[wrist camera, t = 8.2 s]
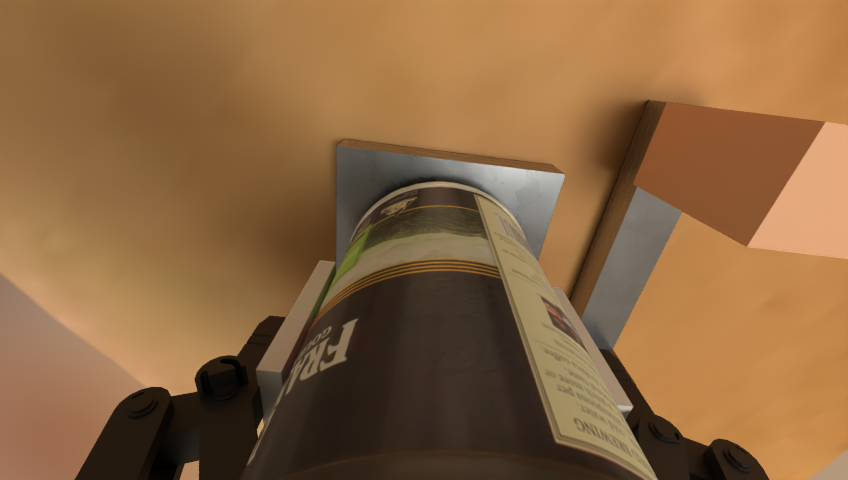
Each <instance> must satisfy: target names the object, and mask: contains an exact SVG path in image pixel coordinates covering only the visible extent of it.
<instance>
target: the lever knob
mask: <svg viewBox="0 0 848 480" xmlns="http://www.w3.org/2000/svg"><path fill="white" fill-rule="evenodd" d="M633 185H635V186H637V187H639V188H641V189H642V190H644V191H646V192H648V193H650V194H651V195H653V196H655V197H657V198H659V199H661V200H662V201H664V202H666V203H668V204H670V205H671V206H673V207H675V208H677V209H679V210H681V211H682V212H684V213H686V214H688V215H690V216H691V217H693V218H695V219H697V220H699V221H701V222H702V223H704V224H706V225H708V226H710V227H711V228H713V229H715V230H717V231H719V232H721V233H722V234H724V235H726V236H728V237H730V238H732V239H733V240H735V241H737V242H739V243H741V244H742V245H744V246H746V247H752V248H760V249H769V250H777V251H786V252H794V253H802V254H811V255H819V256H828V257H836V258H844V259H848V125H844V124H837V123H830V122H822V121H814V120H806V119H798V118H790V117H782V116H774V115H766V114H758V113H750V112H742V111H734V110H726V109H718V108H710V107H702V106H694V105H686V104H678V103H670V102H667V103H666V106H665V108H664V111H663V113H662V115H661V118H660V120H659V123H658V125H657V127H656V130H655V132H654V134H653V137H652V139H651V142H650V144H649V146H648V149H647V151H646V154H645V156H644V158H643V161H642V163H641V166H640V168H639V170H638V173H637V175H636V178H635V180H634V182H633Z"/></svg>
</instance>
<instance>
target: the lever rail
mask: <svg viewBox="0 0 848 480" xmlns="http://www.w3.org/2000/svg"><path fill="white" fill-rule="evenodd" d="M666 103H667V102H661V101H653V100H648V102H647V105H646V108H645V110H644V113H643V115H642V118H641V120H640V123H639V125H638V128H637V130H636V133H635V136H634V138H633V141H632V143H631V146H630V148H629V151H628V153H627V156H626V158H625V161H624V163H623V166H622V169H621V171H620V174H619V176H618V179H617V181H616V184H615V186H614V189H613V191H612V194H611V197H610V199H609V202H608V204H607V207H606V209H605V212H604V214H603V217H602V219H601V222H600V225H599V227H598V230H597V232H596V235H595V237H594V240H593V242H592V245H591V247H590V250H589V253H588V255H587V258H586V260H585V263H584V265H583V268H582V270H581V273H580V275H579V278H578V281H577V283H576V286H575V288H574V291H573V293H572V296H571V298H570V301H569V302H570V303H571V305H572V306H573V308H574V310H575V311H576V313H577V315H578V316H579V318H580V320H581V321H582V323H583V325H584V326H585V328H586V329H587V331H588V333H589V334H590V336H591V338H592V339H593V341H594V343H595V344H596V346H597V348H598V349H603V350H608V351H610V352H611V353H612V354H613V355H614V356H615V357H616V358H617V359H618V360H619V358H618V357H617V355H616V354H615V352H614V351H613V347H614V346H615V344H616V342H617V340H618V338H619V336H620V334H621V332H622V330H623V328H624V326H625V324H626V322H627V320H628V318H629V316H630V314H631V312H632V310H633V308H634V306H635V304H636V302H637V300H638V298H639V296H640V294H641V292H642V290H643V288H644V286H645V284H646V282H647V280H648V278H649V276H650V274H651V272H652V270H653V268H654V266H655V265H656V263H657V261H658V259H659V257H660V255H661V253H662V251H663V249H664V247H665V245H666V243H667V241H668V239H669V237H670V235H671V233H672V231H673V229H674V227H675V225H676V223H677V221H678V219H679V217H680V215H681V213H682V211H681V210H679V209H677V208H675V207H673V206H671V205H670V204H668V203H666V202H664V201H662V200H661V199H659V198H657V197H655V196H653V195H651V194H650V193H648V192H646V191H644V190H642V189H641V188H639V187H637V186H635V185H633V182H634V180H635V178H636V175H637V173H638V170H639V168H640V166H641V163H642V161H643V158H644V156H645V154H646V151H647V149H648V146H649V144H650V142H651V139H652V137H653V134H654V132H655V130H656V127H657V125H658V123H659V120H660V118H661V115H662V113H663V111H664V108H665V106H666ZM619 361H620V360H619ZM620 362H621V361H620ZM621 364H622V363H621ZM622 365H623V364H622ZM623 367H624V366H623ZM624 368H625V367H624ZM625 370H626V369H625ZM626 373H628V372H627V370H626ZM628 375H629V373H628ZM629 376H630V375H629ZM630 378H631V376H630ZM631 379H632V378H631ZM632 382H634V381H633V379H632ZM634 384H635V383H634ZM635 385H636V384H635Z"/></svg>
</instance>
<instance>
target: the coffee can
mask: <svg viewBox="0 0 848 480" xmlns="http://www.w3.org/2000/svg"><path fill="white" fill-rule="evenodd" d="M239 480H658V479H657V477H656V475H655V473H654V472H653V470H652V468H651V466H650V464H649V462H648V461H647V459H646V457H645V455H644V453H643V452H642V450H641V448H640V446H639V444H638V442H637V441H636V439H635V437H634V435H633V433H632V432H631V430H630V428H629V426H628V424H627V422H626V421H625V419H624V417H623V415H622V413H621V412H620V410H619V408H618V406H617V404H616V402H615V401H614V399H613V397H612V395H611V393H610V391H609V390H608V388H607V386H606V384H605V382H604V381H603V379H602V377H601V375H600V372H599V370H598V369H597V367H596V365H595V364H594V362H593V360H592V358H591V357H590V355H589V353H588V351H587V350H586V348H585V346H584V344H583V342H582V340H581V338H580V336H579V335H578V333H577V331H576V330H575V328H574V327H573V325H572V323H571V321H570V319H569V318H568V316H567V314H566V312H565V310H564V308H563V307H562V305H561V303H560V301H559V299H558V298H557V296H556V294H555V292H554V290H553V289H552V287H551V285H550V283H549V281H548V279H547V277H546V276H545V274H544V272H543V270H542V268H541V266H540V265H539V263H538V261H537V259H536V257H535V256H534V254H533V252H532V250H531V248H530V247H529V245H528V243H527V241H526V237H525V235H524V233H523V231H522V228H521V227H520V225H519V223H518V222H517V220H516V219H515V217H514V216H513V215H512V213H511V212H510V211H509V210H508V209H507V208H506V207H505V206H504V205H502V204H501V203H500V202H499V201H498V200H496V199H495V198H493V197H492V196H490V195H488V194H486V193H485V192H482V191H480V190H479V189H477V188H474V187H471V186H467V185H462V184H458V183H453V182H425V183H419V184H414V185H411V186H407V187H404V188H401V189H399V190H396V191H394V192H392V193H390V194H389V195H387V196H385V197H384V198H382V199H381V200H379V201H378V202H377V203H376V204H374V205H373V206H372V207H371V208H370V209H369V210H368V211H367V212H366V214H365V215H364V216H363V217H362V219H361V220H360V222H359V223H358V225H357V227H356V229H355V230H354V232H353V234H352V237H351V240H350V244H349V247H348V249H347V251H346V254H345V256H344V258H343V260H342V262H341V265H340V267H339V269H338V271H337V273H336V275H335V277H334V279H333V282H332V284H331V286H330V288H329V290H328V292H327V294H326V297H325V299H324V301H323V303H322V305H321V307H320V309H319V312H318V314H317V316H316V318H315V319H314V321H313V323H312V326H311V328H310V330H309V332H308V334H307V336H306V338H305V340H304V343H303V345H302V347H301V349H300V351H299V353H298V356H297V358H296V360H295V362H294V364H293V367H292V369H291V371H290V373H289V375H288V377H287V379H286V382H285V384H284V386H283V388H282V390H281V392H280V395H279V397H278V399H277V401H276V403H275V405H274V407H273V409H272V412H271V414H270V416H269V418H268V420H267V422H266V424H265V426H264V427H263V429H262V431H261V433H260V436H259V438H258V440H257V443H256V445H255V448H254V450H253V452H252V454H251V456H250V458H249V460H248V463H247V465H246V467H245V469H244V471H243V473H242V475H241V476H240V478H239Z"/></svg>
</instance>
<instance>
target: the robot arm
mask: <svg viewBox="0 0 848 480" xmlns="http://www.w3.org/2000/svg"><path fill="white" fill-rule="evenodd" d="M335 275H336V262H332V261H323V260H320V261H319V262H318V264H317V266H316V268H315V269H314V271H313V273H312V274H311V276H310V278H309V279H308V281H307V283H306V285H305V286H304V288H303V290H302V291H301V293H300V295H299V297H298V298H297V300H296V302H295V303H294V305H293V307H292V309H291V310H290V312H289V314H288V315H287V317H278V316H269V317H268V318H266V319H265V320H264V321H262V322H261V323H259V325H258V326H257V328H256V329H255V331H254V332H253V333H252V336H250V338H249V339H248V341H247V344H245V345H244V347H243V348H242V350H241V351H240V353H239V354H238V356H231V355H228V356H221V357H218V358H215V359H213V360H210V361H209V362H207V363H206V364H205V365H203V366H202V367H201V368H200V369H199V371H198V372H197V374H196V377H195V383H196V387H197V390H198V391H197V392H193V393H188V394H182V395H176V396H171V395H170V393H169V392H168V390H167V389H164V388H162V387H150V388H146V389H142V390H139V391H137V392H135V393H133V394H131V395H129V396H128V397H127V398H125V399H124V400H123V401H121V403H120V404H119V405H118V406H117V407H116V408H115V410H114V411H113V413H112V415H111V417H110V418H109V420H108V422H107V424H106V425H105V427H104V429H103V431H102V432H101V435H100V436H99V438H98V440H97V441H96V443H95V445H94V447H93V448H92V450H91V452H90V454H89V456H88V457H87V459H86V461H85V463H84V464H83V466H82V468H81V470H80V472H79V473H78V475H77V477H76V478H75V480H180V476H181V473H182V470H183V467H184V464H185V463H189V462H193V461H198V460H199V480H239V478H240V476H241V475H242V473H243V471H244V469H245V467H246V465H247V463H248V460H249V458H250V456H251V454H252V452H253V450H254V448H255V445H256V443H257V440H258V435H257V428H258V426H259V424H260V422H261V420H262V418H263V422H264V426H265V424H266V422H267V420H268V418H269V416H270V414H271V412H272V409H273V407H274V405H275V403H276V401H277V399H278V397H279V395H280V392H281V390H282V388H283V386H284V384H285V382H286V379H287V377H288V375H289V373H290V371H291V369H292V367H293V364H294V362H295V360H296V358H297V356H298V353H299V351H300V349H301V347H302V345H303V343H304V340H305V338H306V336H307V334H308V332H309V330H310V328H311V326H312V323H313V321H314V319H315V318H316V316H317V314H318V312H319V309H320V307H321V305H322V303H323V301H324V299H325V297H326V294H327V292H328V290H329V288H330V286H331V284H332V282H333V279H334V277H335ZM551 287H552V289H553V290H554V292H555V294H556V296H557V298H558V299H559V301H560V303H561V305H562V307H563V308H564V310H565V312H566V314H567V316H568V318H569V319H570V321H571V323H572V325H573V327H574V328H575V330H576V331H577V333H578V335H579V336H580V338H581V340H582V342H583V344H584V346H585V348H586V350H587V351H588V353H589V355H590V357H591V358H592V360H593V362H594V364H595V365H596V367H597V369H598V370H599V372H600V375H601V377H602V379H603V381H604V382H605V384H606V386H607V388H608V390H609V391H610V393H611V395H612V397H613V399H614V401H615V402H616V404H617V406H618V408H619V410H620V412H621V413H622V415H623V417H624V419H625V421H626V422H627V424H628V426H629V428H630V430H631V432H632V433H633V435H634V437H635V439H636V441H637V442H638V444H639V446H640V448H641V450H642V452H643V453H644V455H645V457H646V459H647V461H648V462H649V464H650V466H651V468H652V470H653V472H654V473H655V475H656V477H657V479H658V480H769V478H768V476H767V475H766V473H765V471H764V470H763V468H762V467H761V465H760V464H759V463H758V461H757V460H756V459H755V458H754V457H753V456H752V455H751V454H750V453H749V452H747V451H746V450H745V449H743V448H742V447H740V446H739V445H737V444H735V443H733V442H731V441H728V440H724V439H716V440H714V441H713V442H712V443H711V444H710V445H709V446H706V445H703V444H701V443H698V442H695V441H693V440H690V439H687V438H685V437H683V436H682V434H681V433H680V432H679V430H678V429H677V428H676V427H675V426H674V425H672V424H671V423H670V422H669V421H667V420H666V419H664V418H662V417H660V416H657V415H655V414H654V413H653V411H652V410H651V408H650V407H649V405H648V403H647V402H646V400H645V399H644V397H643V396H642V394H641V393H640V391H639V390H638V388H637V387H636V385H635V384H634V382H632V379H631V378H630V376H629V375H628V373H626V370H625V368H624V367H623V365H622V364H621V362H620V361H619V360H618V359H617V358H616V357H615V356H614V355H613V354H612V353H611V352H610V351H608V350H603V349H598V348H597V346H596V344H595V343H594V341H593V339H592V338H591V336H590V334H589V333H588V331H587V329H586V328H585V326H584V325H583V323H582V321H581V320H580V318H579V316H578V315H577V313H576V311H575V310H574V308H573V306H572V305H571V303H570V302H569V300H568V298H567V297H566V295H565V293H564V292H563V290H562V288H561V287H557V286H551Z"/></svg>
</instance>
